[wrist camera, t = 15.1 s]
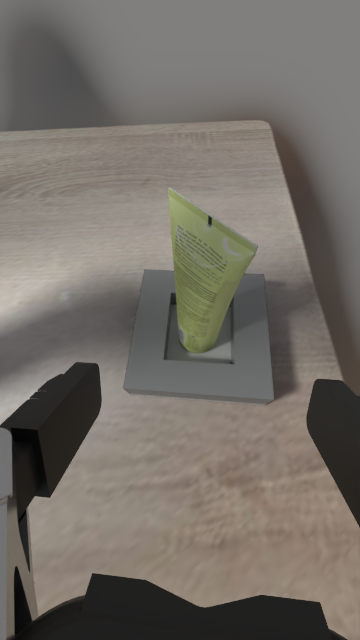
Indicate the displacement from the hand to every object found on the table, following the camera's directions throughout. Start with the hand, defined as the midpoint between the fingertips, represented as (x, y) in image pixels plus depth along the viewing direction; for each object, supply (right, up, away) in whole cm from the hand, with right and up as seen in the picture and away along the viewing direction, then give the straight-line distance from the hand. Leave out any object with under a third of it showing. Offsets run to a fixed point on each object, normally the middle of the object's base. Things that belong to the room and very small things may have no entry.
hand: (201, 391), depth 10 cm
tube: (+2, 0, +24) cm, 24 cm away
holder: (+2, 0, +25) cm, 25 cm away
